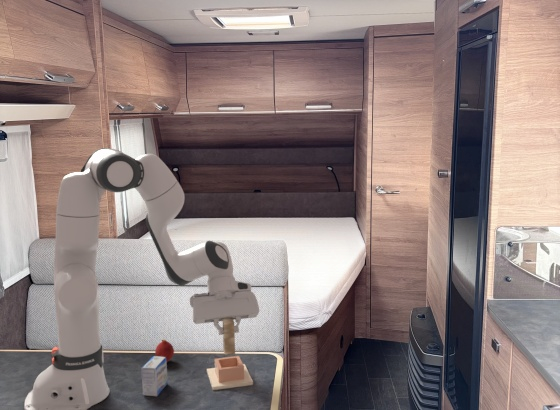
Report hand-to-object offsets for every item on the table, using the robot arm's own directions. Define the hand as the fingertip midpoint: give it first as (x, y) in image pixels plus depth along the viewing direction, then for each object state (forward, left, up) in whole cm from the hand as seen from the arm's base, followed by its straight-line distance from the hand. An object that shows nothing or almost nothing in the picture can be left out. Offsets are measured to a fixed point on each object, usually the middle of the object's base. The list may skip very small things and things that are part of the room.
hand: (229, 333), depth 169 cm
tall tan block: (0, +1, -6) cm, 6 cm away
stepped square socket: (0, +1, -15) cm, 15 cm away
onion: (-18, +17, -15) cm, 29 cm away
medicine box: (-22, 0, -15) cm, 27 cm away
